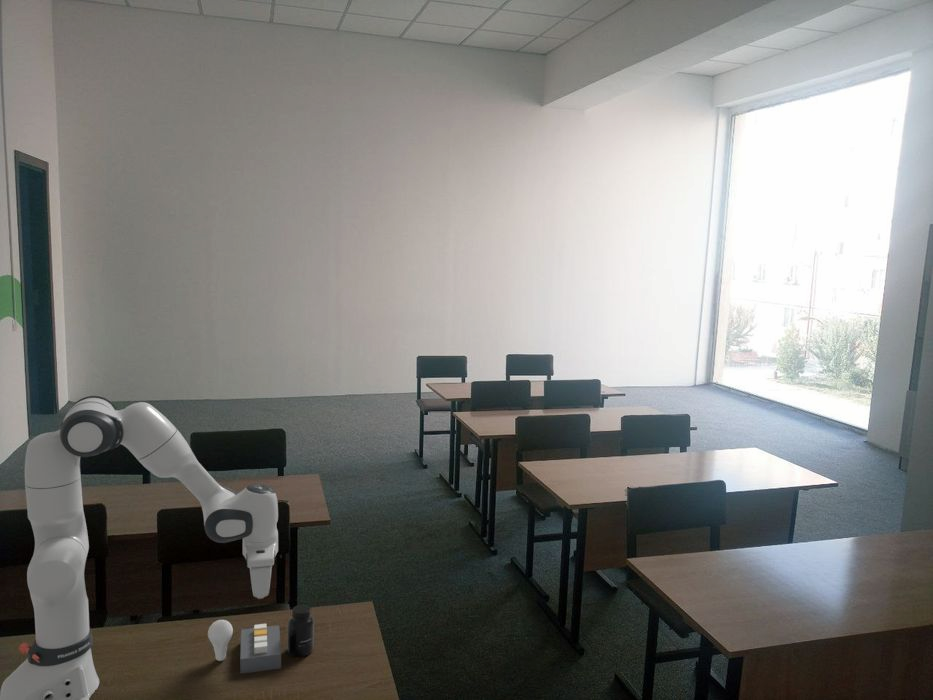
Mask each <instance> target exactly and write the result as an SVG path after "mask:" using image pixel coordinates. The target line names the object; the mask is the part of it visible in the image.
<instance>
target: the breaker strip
mask: <svg viewBox="0 0 933 700" xmlns="http://www.w3.org/2000/svg"><path fill="white" fill-rule="evenodd" d="M281 648H282V647H281V632H280V625H270V626H267V623H261V622H259V623H258V624H254V627H252V628H243V629H241V630H240V657H239V658H240V659H239V661H240V663H239V664H240V665H239V668H240V670H239V671H240V672H239V673H240V674H247V673H249V674H250V673H256V672H263V671H270V670H278V669H279V670H280V669H282V649H281Z"/></svg>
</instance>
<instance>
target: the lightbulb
mask: <svg viewBox="0 0 933 700" xmlns="http://www.w3.org/2000/svg"><path fill="white" fill-rule="evenodd" d="M233 633H234V630H233V625H232V624H231V622H230V621H228V620H226V619H218V620H216V621H214V622H212V624H210V626H209V628H208V631H207V637H208V640H209V641H210V642H211V645H212V646H213V652H214V653H215V655H214V656H215V660H216V661H219V662H222V661H224V660H225V659H226V656H227V650H228V644H229V642H230V640H231V638H232V636H233Z"/></svg>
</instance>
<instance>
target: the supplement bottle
mask: <svg viewBox="0 0 933 700" xmlns="http://www.w3.org/2000/svg"><path fill="white" fill-rule="evenodd" d="M291 612H292V613H291V616H290V618H289V620H288V622H287V652H288V654H289V655H290V656H292V657H296V658H301V657H307V656H308V655H310V654H311V653H312V652H313V650H314V639H315V638H314V635H315V633H314V632H315V620H314V618H313V616H312V615H311V607H310V606H308V605H307V604H300V605H299V604H298V605H295V606H294V607H292V609H291Z"/></svg>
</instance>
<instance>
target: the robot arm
mask: <svg viewBox="0 0 933 700" xmlns="http://www.w3.org/2000/svg"><path fill="white" fill-rule="evenodd" d="M120 445H122V446H123V447H125V448H126V449H127V450H128V451H129V452H130V453H131V454H132V455H133V456H134V457H135V458H136V460H137V461H138V462H139V463H140V464H141V465H142V466H143V467H144V468H145V469H146V470H147V471H149V472H150V473H151V474H153V475H154V476H156V477H157V478H163V479H165V478H166V479H167V478H176V479H177V480H178V481H179V482H181V484H183V485H184V486H185V487H186V488H187V490H189V491H190V492H191V494H192V495H193V496H194V497H195V499H197V500H198V502H199V505H200V506H201V512H202V515H203V526H204V527H203V528H204V532H205V534H206V536H207V537H208V538H209V539H210V540H212V541H213V542H216V543H221V544H226V543H231V542H235V541H237V540H242V555H243V557H244V558H245V562H246V567H247V568H249V574H250V584H251V589H252V595H253V597H254V598H257V599H258V600H261V599H264V598H265V597H267V596H269V594H270V589H271V588H270V587H271V579H272V570H273V569H272V568H273V566H274V564H275V559H276V556H277V553H278V552H279V530H278V528H277V523H278V520H279V505H278V503H279V502H278V496H277V494H276V492H275V490H274V489H272V488H271V487H270V486H268V485H266V484H265V485H264V484H259V483H252V484H249V485H247V486H245V487H244V489H242V490H241V491H239V492H237V491H236V490H234V489H233V488H231V487H228V486H225V485H224V484H222V483H220V482H219V481H217V480H216V479H215V477H213V476H212V474H210V472H209V471H208V470H207V469H206V468H205V467H204V466H203V465H202V463H200V462H199V460H198V459H197V457H196V455H195V453H194V452H193V450H192V448H191V447H190V445H189V443H188V441H187V440H186V439H185V437H184V436H183V435H182V433H181V432H180V431H179V429H177V427H175V425H174V424H173V423H172V422H171V421H170V420H169V419H168V418H167V417H166V416H165V415H164V414H162V413H161V412H160V411H159V410H158V409H157V408H155V407H154V406H153V405H151V404H150V403H147V402H145V401H144V402H143V401H139V402H134V403H132V404H130V405H128V406H126V407H125V408H123V409H120V410H117V407H115V405H114V403H113V402H112V401H111V400H109V399H107V398H106V397H103V396H99V395H89V396H85V397H82V398H80V399H78V400H77V401H75V402H74V404H72V405H71V407H70V409H69V410H68V411H67V413H66V414H65V416H64V418H63V421H62V423H61V424H60V429H58V430H56V431H50V432H45V433H44V432H43V433H40V434H39V435H37V436H35V437H33V438H32V439H31V440H30V441H29V443H28V444H27V447H26V451H25V458H24V487H25V500H26V510H27V512H26V513H27V519H28V520H29V522H30V525H31V529H32V532H33V537H34V550H33V555H32V557H31V560H30V562H29V564H28V566H27V570H26V571H27V572H26V581H27V587H28V590H29V594H30V599H31V603H32V606H33V612H34V613H33V614H34V628H35V639H34V642H33V643H32V645H29V644H28V643H27V642H23V643H21V644H20V646H19V647H18V650H19V652H21V654H23V655H27V658H26V659H25V660H24V661H23V662H22V663H21V664H20V665H19V666H18V667H17V668H16V669H15V670H14V671H12V672H11V674H10V675H9V676H7V677H6V678H5V679H4V681H3V682H2V684H1V688H0V700H90V699H91V696H92V695H93V694H94V693H95V692H96V691H95V690H97V689H98V687H99V685H100V678H99V676H98V674H97V671H96V668H95V665H94V661H93V659H94V658H93V655H92V650H93V634H92V628H91V627H90V611H89V598H88V595H87V590H86V582H85V569H86V562H87V557H88V553H89V549H90V545H89V543H90V542H89V536H88V535H89V534H88V529H87V528H88V527H87V523H86V517H85V516H86V515H85V512H84V505H83V490H82V489H83V488H82V477H81V476H82V475H81V458H88V457H94V456H97V455H100V454H101V453H104V452H107V451H110V450H112V449H115V448H118V447H120ZM89 698H90V699H89Z"/></svg>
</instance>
